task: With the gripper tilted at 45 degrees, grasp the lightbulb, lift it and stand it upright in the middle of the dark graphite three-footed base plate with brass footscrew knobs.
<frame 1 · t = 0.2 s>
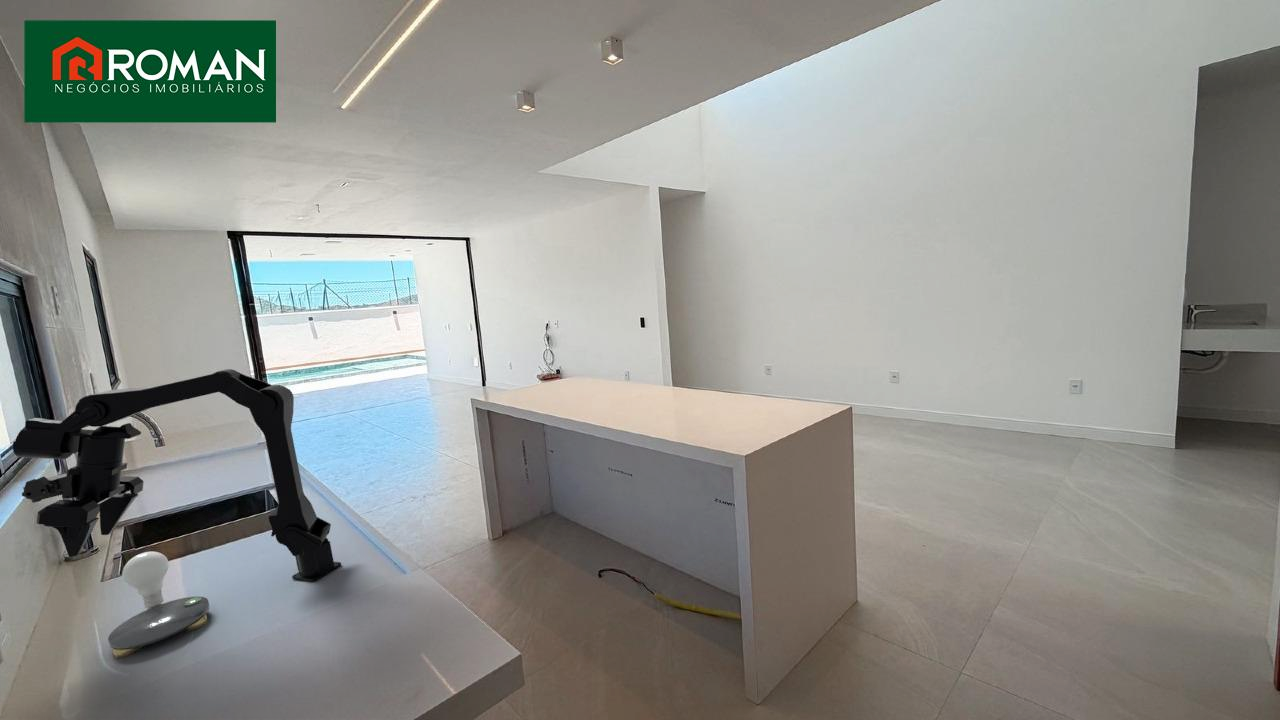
hand: (90, 544, 92), 15 cm above the counter, tool pointing down, fingers open, 9 cm apart
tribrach: (163, 631, 90), on the counter
lightbulb: (155, 607, 98), on the counter
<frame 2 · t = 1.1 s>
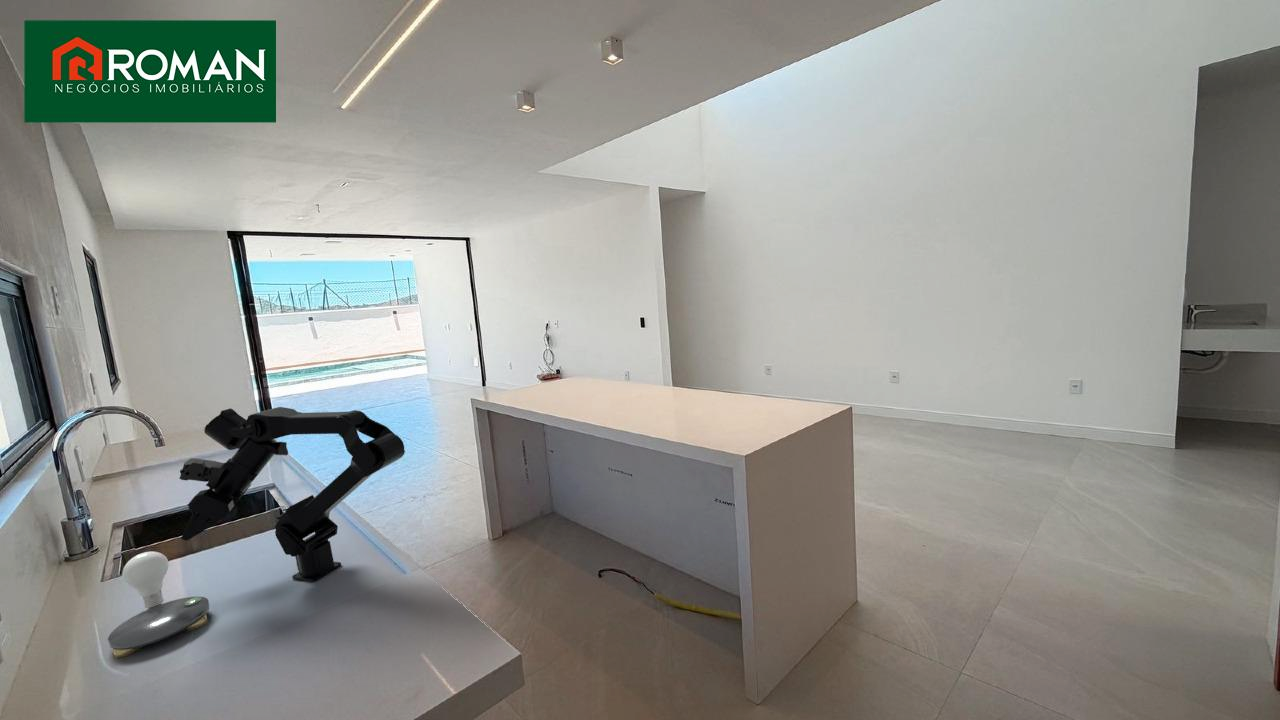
hand: (192, 530, 100), 13 cm above the counter, tool tilted 45°, fingers open, 9 cm apart
nothing on the counter moved.
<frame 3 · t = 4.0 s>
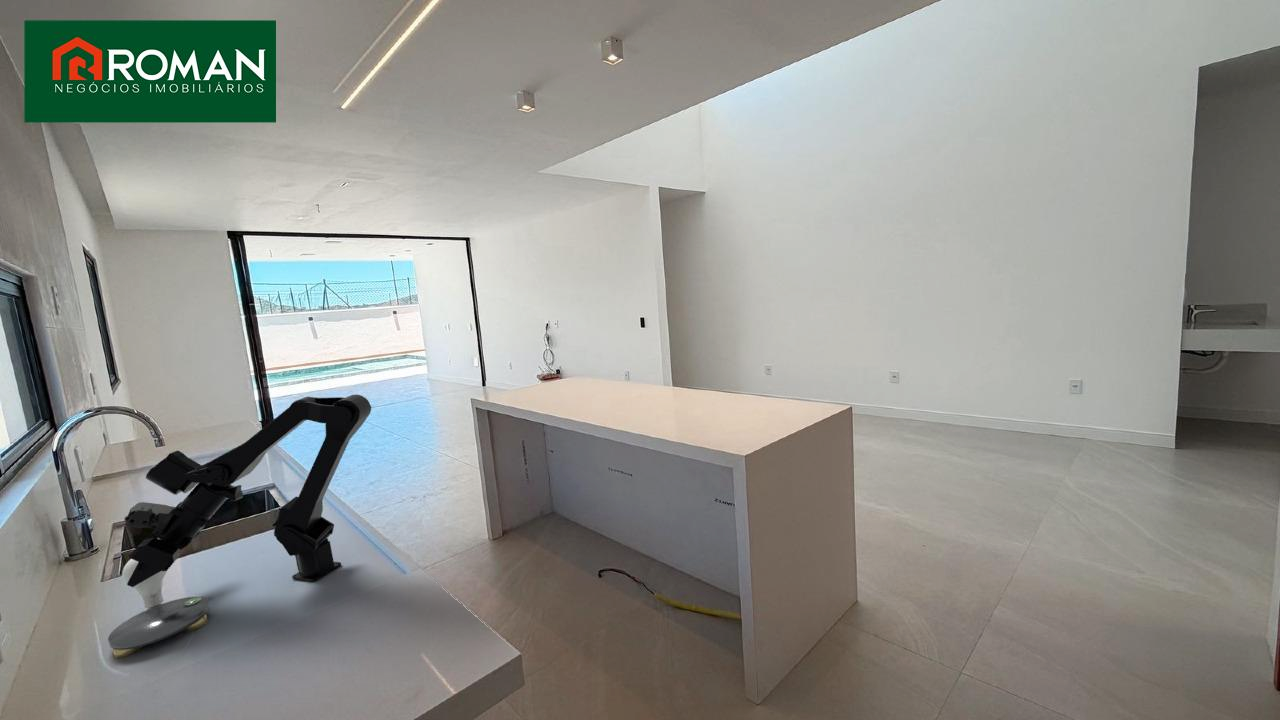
hand: (137, 577, 97), 7 cm above the counter, tool tilted 45°, fingers closed on lightbulb, 6 cm apart
lightbulb: (155, 607, 98), on the counter, touching gripper
when the fingers open (10 cm above the counter, at t = 7.7 s): lightbulb stays where it is, resting on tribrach.
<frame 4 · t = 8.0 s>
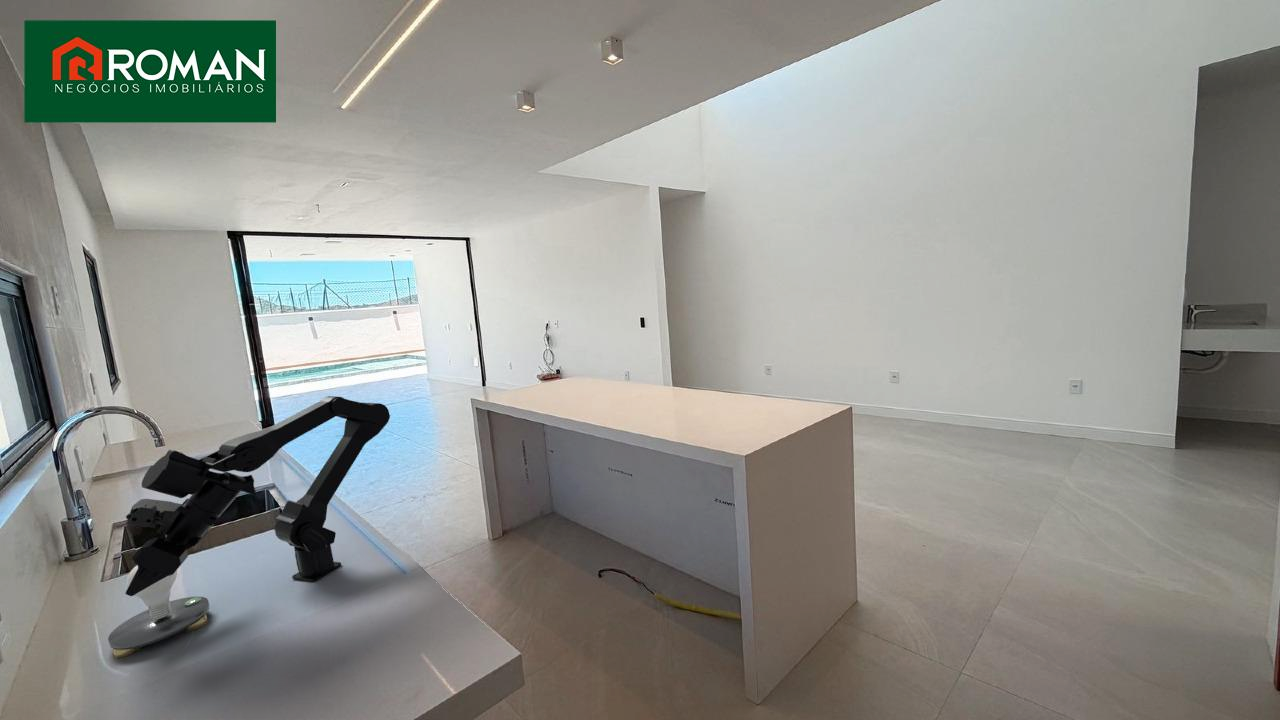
hand: (140, 581, 88), 10 cm above the counter, tool tilted 45°, fingers open, 9 cm apart
lightbulb: (162, 619, 90), point 2 cm above the counter, touching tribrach
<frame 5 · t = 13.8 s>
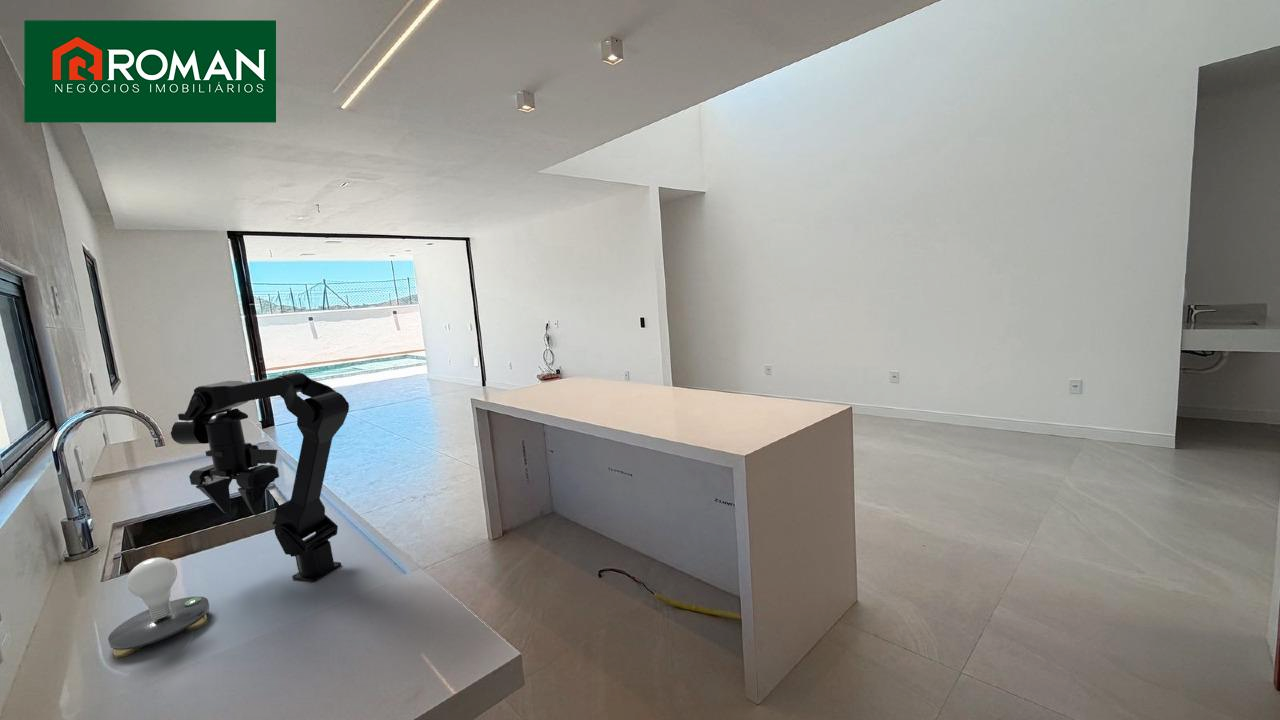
hand: (242, 513, 108), 13 cm above the counter, tool pointing down, fingers open, 9 cm apart
nothing on the counter moved.
at the end: lightbulb 0.3 cm off-centre on the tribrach, point 2.3 cm above the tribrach's base; lightbulb tilted 0°; the gripper is holding nothing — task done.
